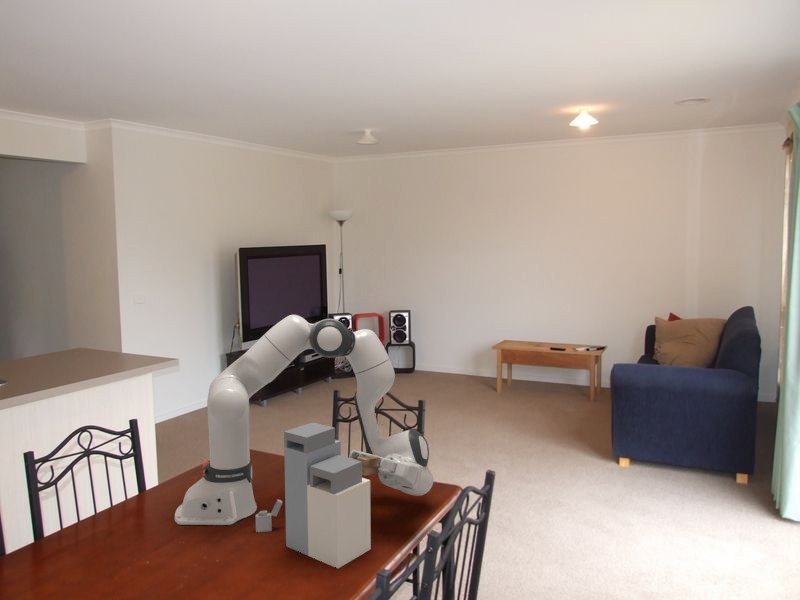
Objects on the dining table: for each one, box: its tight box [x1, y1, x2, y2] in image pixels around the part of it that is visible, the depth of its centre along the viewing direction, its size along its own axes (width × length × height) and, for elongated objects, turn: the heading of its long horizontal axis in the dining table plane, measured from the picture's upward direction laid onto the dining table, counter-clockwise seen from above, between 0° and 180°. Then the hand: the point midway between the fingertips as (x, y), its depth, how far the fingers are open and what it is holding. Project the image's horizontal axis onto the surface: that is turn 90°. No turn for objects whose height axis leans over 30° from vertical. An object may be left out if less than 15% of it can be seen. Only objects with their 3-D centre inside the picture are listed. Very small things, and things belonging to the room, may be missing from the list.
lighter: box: [255, 498, 283, 534], centre depth 172 cm, size 7×2×8 cm, turn 105°
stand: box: [283, 422, 372, 569], centre depth 161 cm, size 12×18×30 cm, turn 52°
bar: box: [357, 455, 381, 476], centre depth 162 cm, size 17×3×4 cm, turn 143°
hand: (366, 458), depth 166 cm, fingers open, 8 cm apart
